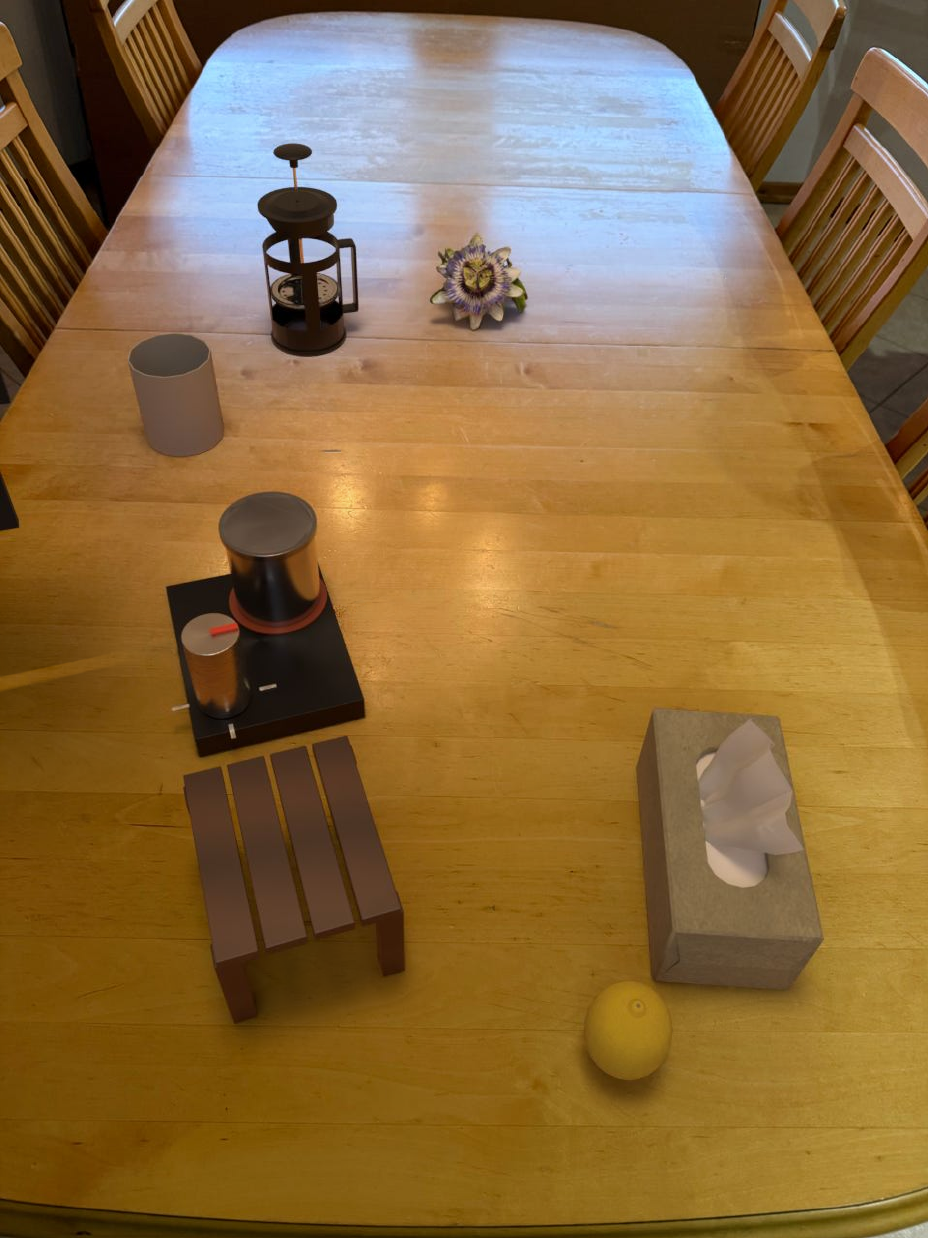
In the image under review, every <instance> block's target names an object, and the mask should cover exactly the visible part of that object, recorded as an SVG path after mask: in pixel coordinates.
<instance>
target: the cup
mask: <svg viewBox="0 0 928 1238" xmlns="http://www.w3.org/2000/svg"><path fill="white" fill-rule="evenodd" d="M212 355H213V354H212V350H211V348H210V346H209V345H208V343H206V341H205V340H204V339H202V338H199V337H197V336H195V335H193V334H189V333H188V334H186V333H180V332H179V333H178V332H171V333H163V334H162V333H161V334H156V335H154V336H151V337H148V338H145V339H143V340H140V341H139V342H138V343H137V344H135V346H134V347H132V348H131V349H130V350H129V353H128V357H127V363H128V368H129V371H130V377H131V380H132V383H133V387H134V392H135V396H136V400H137V404H138V409H139V412H140V417H141V420H142V425H143V429H144V433H145V437H146V440H147V442H148V443H149V445H150V447H151V449H152V450H155V451H156V452H158V453H160V454H162V455H164V456H171V457H177V458H182V457H183V458H184V457H190V456H191V457H192V456H197V455H202V453H205V452H208V451H209V450H211V449H214V448H215V447H216V446H217V445H218V444H219V442H220V441H222V439H223V438H224V431H225V424H224V418H223V412H222V407H221V401H220V396H219V390H218V384H217V379H216V378H217V377H216V372H215V367H214V361H213V356H212Z"/></svg>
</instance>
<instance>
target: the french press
mask: <svg viewBox="0 0 928 1238" xmlns="http://www.w3.org/2000/svg"><path fill="white" fill-rule="evenodd" d="M272 153H273V155H274V157H275V158H277V159H280V160H283V161H288V163H289V168H291V169H292V178H293V186H289V187H282V188H277V189H275V190H271V191H269V192H267V193H265V194H263V195H262V196H261V197H260V198H259V200H258V202H257V212H258V213H259V214H260V215H261V216H262V217H263V218H265V219H266V220H267V223H268V224H269V225H270V227H271V228H272V230H273V231H274V232H272V233H270V234H269V235H267V237H265V238H264V240H263V242H262V245H261V246H262V247H261V248H262V255H263V256H262V257H263V263H264V273H265V274H264V275H265V280H266V281H265V282H266V289H267V297H268V307H269V315H270V325H271V331H270V338H271V342H272V343H273V345H274V346H275V347H276V349H278V350H280V351H281V352H284V353H286V354H289V355H292V356H299V357H315V356H321V355H326V354H329V353H332V352H334V351H336V350H337V349H338V348H340V347H342V345H343V344H344V343H345V342H346V339H347V329H346V327H345V317H344V316H345V314H351V313H353V314H354V313H357V312H359V308H360V307H359V285H358V284H359V283H358V263H357V246H356V243H355V241H354V239H352V238H351V237H349V238H339V239H338V238H337V236H335V235H334V234H332V233H331V232H329V231H330V230H331V229H332V228H333V227H334V225H335V213H336V211H337V209H338V201H337V199H336V198H335V197H334V196H333V194H331V193H329V192H327V191H325V190H323V189H319V188H315V187H309V186H308V187H307V186H298V179H297V178H298V177H297V168H299V161H302V160H305V159H309V157H311V156H312V155H313V150H312V148H311V147H310V146H307V145H305V144H302V143H297V142H296V143H294V142H293V143H283V144H281V145H278V146H276V147H274V149H273V152H272ZM303 239H310V240H317V241H321V242H324V243H326V244H328V245H331V246H332V247H333V248H334V249H335V250H334V252H333V253H331V254H330V255H329V256H327V257H325V258H322V259H319V260H316V261H315V260H314V261H310V262H305V255H304V246H303ZM285 241H287V246H288V247H287V248H288V256H289V261H285V260H280V259H279V258H275V257H273V256H271V255H270V254H269V253H267V252H268V251H269V250H270V248H271V247H273V246H275V245H276V244H279V243H282V242H285ZM348 248H350V263H351V284H352V286H351V287H352V303H350V302H349V303H344V301H343V300H344V299H343V283H342V282H343V281H342V264H341V249H348ZM335 265H336V279H334V278H333V277H331V276H330V275H327V274H324V273H320V272H324V271H327V270H328V269H331V268H332V267H334V266H335ZM269 268H271V269H273V270H275V271H277V272H280V273H285V275H283V276H280V277H278V278H277V279H275V280H274V281H273V282H272V283H270V274H269ZM337 298H338V300H337ZM273 302H274V303H275V304H273ZM303 320H305V327H306V330H299V329H292V328H289V327H287V326H289V325H291V324H292V323H295V322H298V321H303ZM322 322H325V323H326V324H329V325H328V326H326V327H322Z"/></svg>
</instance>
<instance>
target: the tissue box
mask: <svg viewBox="0 0 928 1238" xmlns="http://www.w3.org/2000/svg"><path fill="white" fill-rule="evenodd" d="M792 777H793V776H792V773H791V768H790V763H789V758H788V752H787V748H786V743H785V737H784V733H783V727H782V722H781V718H780V717H779V716H778V715H768V714H753V713H738V712H722V711H708V710H707V711H706V710H692V709H677V708H662V707H654V708H653V709H652V711H651V715H650V718H649V721H648V725H647V729H646V732H645V735H644V738H643V742H642V745H641V749H640V753H639V756H638V760H637V763H636V781H637V791H638V806H639V820H640V833H641V834H640V835H641V846H642V858H643V859H642V860H643V861H642V862H643V875H644V888H645V901H646V912H647V913H646V914H647V915H646V916H647V929H648V942H649V956H650V968H651V978H652V979H653V980H654V981H655V982H668V983H669V982H670V983H681V984H682V983H683V984H695V985H696V984H697V985H710V986H725V987H739V988H751V989H752V988H753V989H755V988H756V989H767V990H783V991H789V990H790V989H791V988H792V987H793V985H794V984H795V982H796V981H797V979H798V978H799V977H800V975H801V974H802V972H803V970H804V969H805V968H806V967H807V965H808V963H809V962H810V961H811V959H812V958H813V956H814V955H815V953H816V952H817V951H818V949H819V947H820V946H821V945H822V943H823V941H824V940H825V938H824V934H823V928H822V923H821V917H820V913H819V908H818V903H817V897H816V892H815V888H814V883H813V878H812V873H811V867H810V862H809V858H808V853H807V847H806V842H805V838H804V833H803V828H802V823H801V819H800V818H801V817H800V812H799V808H798V802H797V798H796V793H795V787H794V782H793V778H792Z"/></svg>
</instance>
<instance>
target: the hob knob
mask: <svg viewBox="0 0 928 1238" xmlns="http://www.w3.org/2000/svg"><path fill="white" fill-rule="evenodd" d="M181 641H182V645H183V649H184V653H185V656H186V660H187V664H188V668H189V672H190V675H191V679H192V683H193V687H194V691H195V694H196V698H197V702H198V706H199V708H200V709H201V711H202V712H203V713H205V714H206V715H208V716H210V717H213V718H218V719H223V718H230V717H233V716H236V715H238V714H239V713H241V712H242V711H243V710H245V709H246V707H247V706H248V705H249V703H250V700H251V696H252V693H251V688H250V682H249V677H248V672H247V667H246V662H245V657H244V652H243V647H242V642H241V637H240V631H239V627H238V624H237V623H236V622H235V621H234V620H233V619H232V618H230V617H229V616H227V615H224V614H219V613H209V614H204V615H201V616H198V617H196V618H194V619H192V620H191V621H190V622H189V623H188V624H187V625H186V626H185V627H184V629H183V631H182V634H181Z"/></svg>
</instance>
